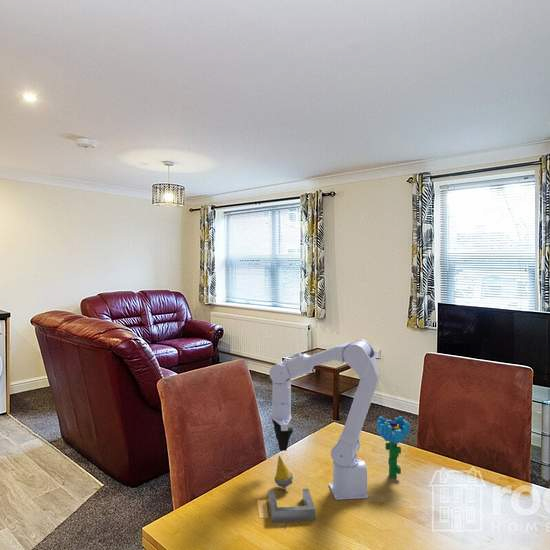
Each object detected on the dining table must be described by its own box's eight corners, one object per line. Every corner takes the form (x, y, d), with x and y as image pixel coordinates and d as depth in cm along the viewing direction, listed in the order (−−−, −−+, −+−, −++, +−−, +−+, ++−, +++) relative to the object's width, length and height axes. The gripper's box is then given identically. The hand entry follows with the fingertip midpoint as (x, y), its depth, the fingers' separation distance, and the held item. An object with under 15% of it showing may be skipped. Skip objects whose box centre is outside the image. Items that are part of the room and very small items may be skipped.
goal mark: (265, 500, 112) (265, 499, 112) (268, 518, 104) (268, 517, 104) (257, 500, 111) (257, 500, 111) (259, 518, 103) (259, 517, 103)
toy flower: (374, 469, 129) (374, 414, 128) (401, 469, 129) (402, 413, 129) (383, 485, 120) (384, 425, 119) (412, 484, 120) (413, 424, 120)
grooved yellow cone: (293, 493, 114) (286, 458, 114) (275, 495, 115) (268, 460, 116) (296, 483, 119) (289, 450, 120) (278, 485, 120) (272, 452, 121)
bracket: (308, 499, 112) (308, 488, 112) (315, 520, 103) (315, 509, 103) (268, 501, 111) (268, 490, 111) (271, 523, 102) (271, 511, 102)
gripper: (266, 394, 131) (266, 435, 131) (271, 409, 116) (271, 456, 117) (288, 393, 132) (287, 434, 132) (295, 409, 117) (294, 455, 118)
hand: (281, 444), depth 124 cm, fingers open, 7 cm apart
